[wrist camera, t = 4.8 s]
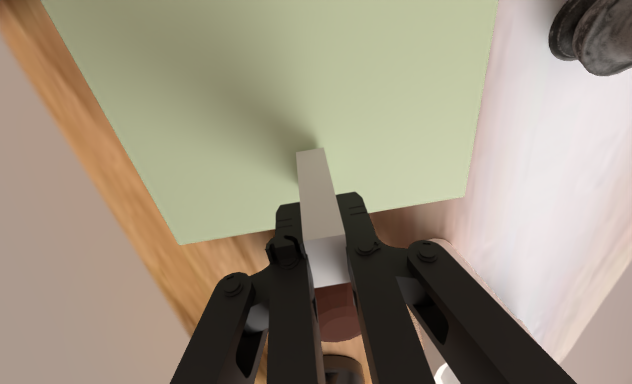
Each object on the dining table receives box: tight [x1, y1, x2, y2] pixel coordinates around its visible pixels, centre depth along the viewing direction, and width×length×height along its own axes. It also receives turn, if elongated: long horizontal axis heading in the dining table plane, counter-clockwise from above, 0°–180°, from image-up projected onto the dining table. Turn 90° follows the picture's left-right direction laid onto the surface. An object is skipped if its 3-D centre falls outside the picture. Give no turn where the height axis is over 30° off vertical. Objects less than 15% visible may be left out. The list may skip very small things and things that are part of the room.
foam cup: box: [417, 238, 536, 384], centre depth 31 cm, size 10×9×13 cm
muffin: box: [314, 282, 361, 342], centre depth 30 cm, size 12×11×10 cm
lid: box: [40, 0, 499, 245], centre depth 16 cm, size 15×18×2 cm
